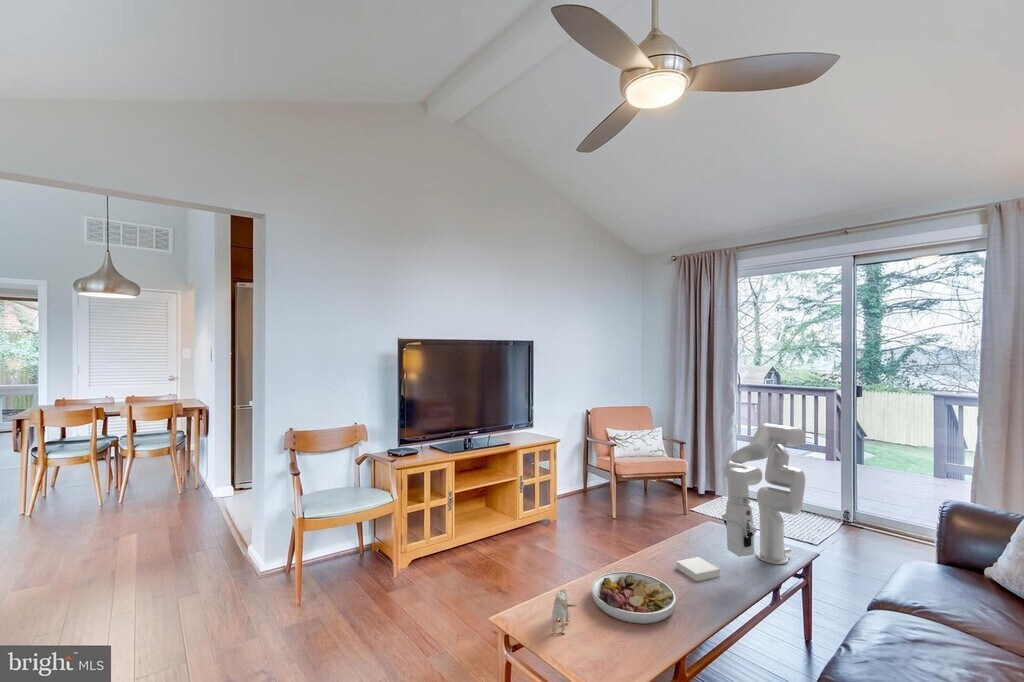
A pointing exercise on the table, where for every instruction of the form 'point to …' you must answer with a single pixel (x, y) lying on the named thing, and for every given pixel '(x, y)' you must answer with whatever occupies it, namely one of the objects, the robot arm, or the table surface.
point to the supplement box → (738, 540)
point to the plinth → (697, 568)
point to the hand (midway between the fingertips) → (739, 542)
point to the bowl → (633, 597)
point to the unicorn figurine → (560, 609)
